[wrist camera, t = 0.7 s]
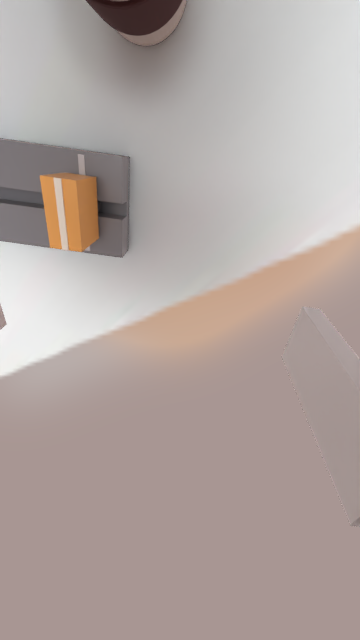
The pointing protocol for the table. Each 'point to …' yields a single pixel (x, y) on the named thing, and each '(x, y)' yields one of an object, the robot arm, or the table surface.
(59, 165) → the slider console
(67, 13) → the table surface
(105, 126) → the table surface
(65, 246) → the fader tab
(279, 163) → the table surface
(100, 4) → the coffee cup
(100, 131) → the table surface
